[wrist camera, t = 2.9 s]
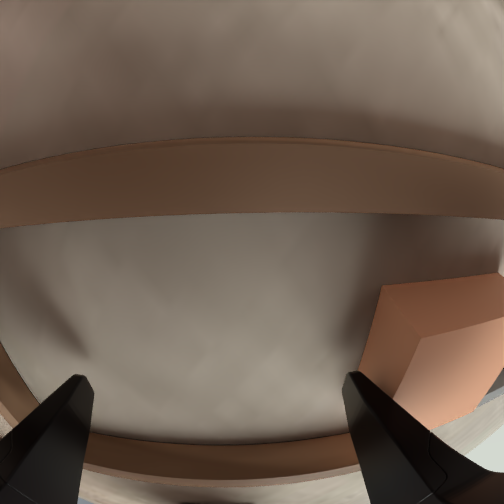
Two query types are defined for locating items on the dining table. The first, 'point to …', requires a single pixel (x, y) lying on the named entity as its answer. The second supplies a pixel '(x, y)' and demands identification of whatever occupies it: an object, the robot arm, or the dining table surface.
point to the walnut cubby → (233, 201)
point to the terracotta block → (437, 345)
